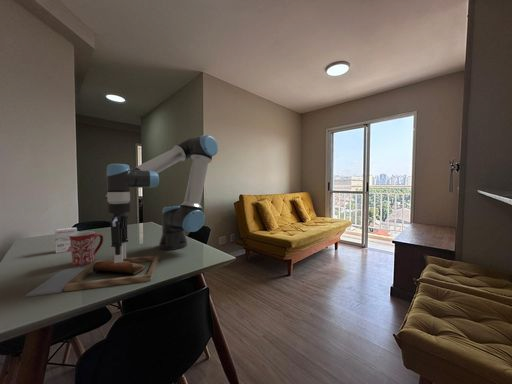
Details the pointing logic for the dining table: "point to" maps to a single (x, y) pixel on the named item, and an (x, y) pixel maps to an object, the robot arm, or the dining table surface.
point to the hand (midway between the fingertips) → (120, 260)
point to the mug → (84, 247)
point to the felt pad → (55, 283)
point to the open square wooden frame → (77, 285)
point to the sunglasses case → (118, 266)
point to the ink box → (63, 239)
